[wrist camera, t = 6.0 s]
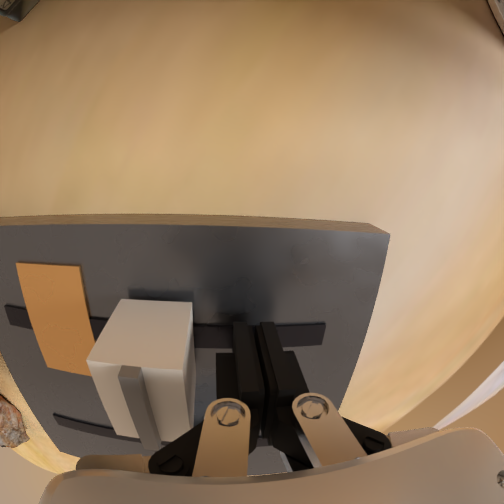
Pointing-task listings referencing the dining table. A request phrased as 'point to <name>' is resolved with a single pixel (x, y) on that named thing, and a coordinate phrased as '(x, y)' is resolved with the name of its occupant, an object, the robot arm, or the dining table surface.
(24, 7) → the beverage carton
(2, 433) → the rock
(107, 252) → the console
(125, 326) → the fader cream
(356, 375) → the dining table surface
